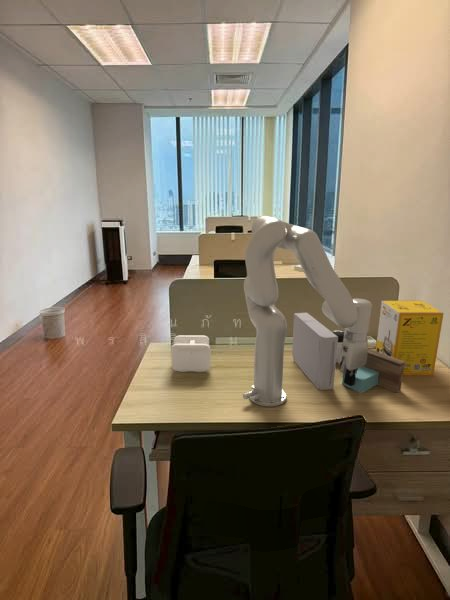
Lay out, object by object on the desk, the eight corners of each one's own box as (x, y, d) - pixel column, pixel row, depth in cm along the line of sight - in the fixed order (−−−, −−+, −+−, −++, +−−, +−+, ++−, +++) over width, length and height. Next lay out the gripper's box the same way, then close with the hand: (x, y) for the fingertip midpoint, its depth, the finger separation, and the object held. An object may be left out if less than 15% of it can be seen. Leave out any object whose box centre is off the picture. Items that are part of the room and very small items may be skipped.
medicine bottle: (347, 362, 158) (350, 335, 154) (329, 362, 158) (332, 335, 155) (342, 355, 165) (345, 329, 161) (325, 355, 165) (328, 329, 161)
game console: (318, 390, 136) (322, 338, 131) (291, 358, 162) (293, 313, 156) (333, 389, 137) (338, 336, 132) (304, 357, 163) (307, 312, 157)
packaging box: (374, 357, 163) (381, 300, 156) (413, 357, 163) (422, 300, 156) (390, 375, 148) (398, 312, 141) (433, 375, 148) (443, 313, 141)
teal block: (361, 393, 135) (362, 380, 133) (342, 384, 141) (343, 371, 140) (377, 384, 141) (379, 372, 139) (358, 376, 147) (359, 364, 145)
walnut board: (396, 393, 135) (400, 364, 132) (343, 370, 151) (345, 344, 148) (401, 390, 137) (405, 361, 133) (348, 368, 153) (350, 342, 150)
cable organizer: (211, 361, 159) (211, 335, 156) (210, 373, 149) (210, 345, 146) (175, 361, 159) (174, 335, 156) (171, 373, 149) (170, 345, 146)
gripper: (351, 343, 124) (344, 394, 129) (378, 334, 132) (370, 383, 137) (332, 335, 129) (326, 385, 134) (359, 328, 138) (352, 374, 143)
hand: (348, 384), depth 136 cm, fingers closed
